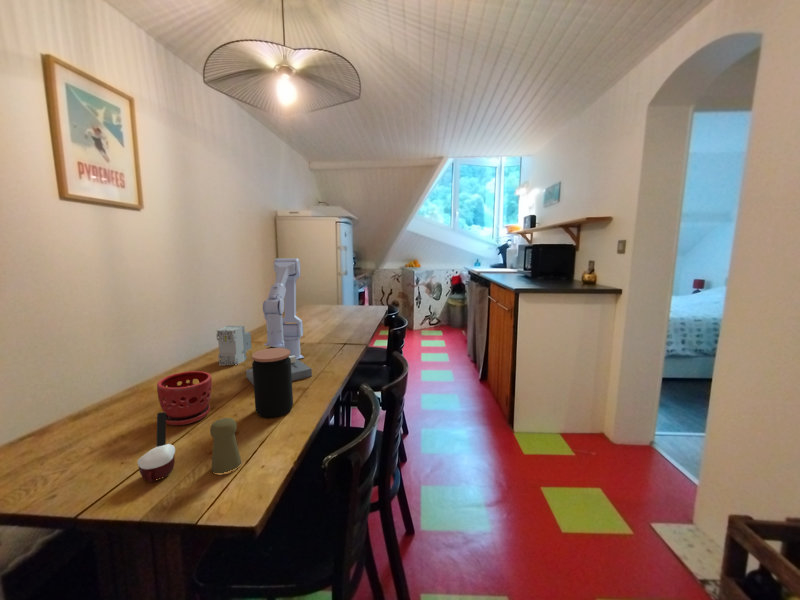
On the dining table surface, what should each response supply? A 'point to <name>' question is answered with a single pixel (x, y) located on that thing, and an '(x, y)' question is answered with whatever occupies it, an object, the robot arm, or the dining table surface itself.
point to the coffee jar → (272, 382)
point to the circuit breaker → (233, 344)
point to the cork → (224, 446)
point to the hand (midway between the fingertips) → (277, 365)
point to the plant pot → (185, 397)
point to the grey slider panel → (297, 370)
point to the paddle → (293, 359)
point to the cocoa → (158, 455)
